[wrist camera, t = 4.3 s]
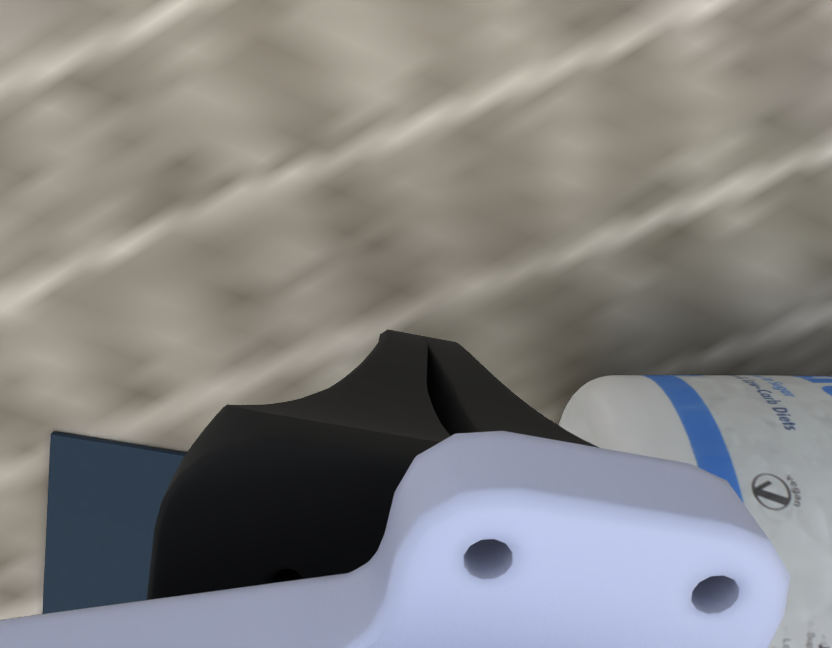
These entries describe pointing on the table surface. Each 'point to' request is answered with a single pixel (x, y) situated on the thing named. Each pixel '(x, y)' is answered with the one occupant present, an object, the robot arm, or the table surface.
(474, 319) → the table surface
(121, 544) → the desk mat
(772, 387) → the supplement tub
